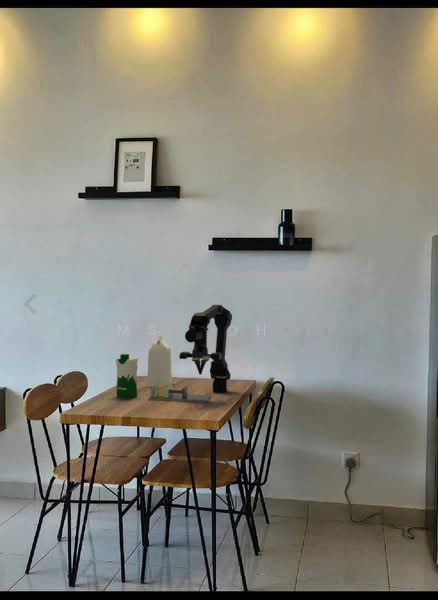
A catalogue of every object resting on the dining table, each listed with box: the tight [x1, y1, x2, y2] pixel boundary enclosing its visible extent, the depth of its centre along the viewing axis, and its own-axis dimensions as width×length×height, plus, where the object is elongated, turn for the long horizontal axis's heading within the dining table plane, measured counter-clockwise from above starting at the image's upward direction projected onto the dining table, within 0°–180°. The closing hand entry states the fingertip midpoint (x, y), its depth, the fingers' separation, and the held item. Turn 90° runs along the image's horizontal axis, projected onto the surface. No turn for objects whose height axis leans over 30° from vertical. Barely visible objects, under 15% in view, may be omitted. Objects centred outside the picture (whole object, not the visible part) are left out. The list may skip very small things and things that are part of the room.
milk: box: [146, 334, 173, 388], centre depth 321 cm, size 12×12×26 cm
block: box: [157, 384, 169, 397], centre depth 286 cm, size 4×7×5 cm, turn 171°
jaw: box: [164, 384, 188, 398], centre depth 285 cm, size 9×10×4 cm
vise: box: [147, 385, 212, 403], centre depth 285 cm, size 27×12×5 cm, turn 81°
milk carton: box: [115, 353, 139, 399], centre depth 288 cm, size 9×9×20 cm
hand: (200, 374), depth 283 cm, fingers closed
